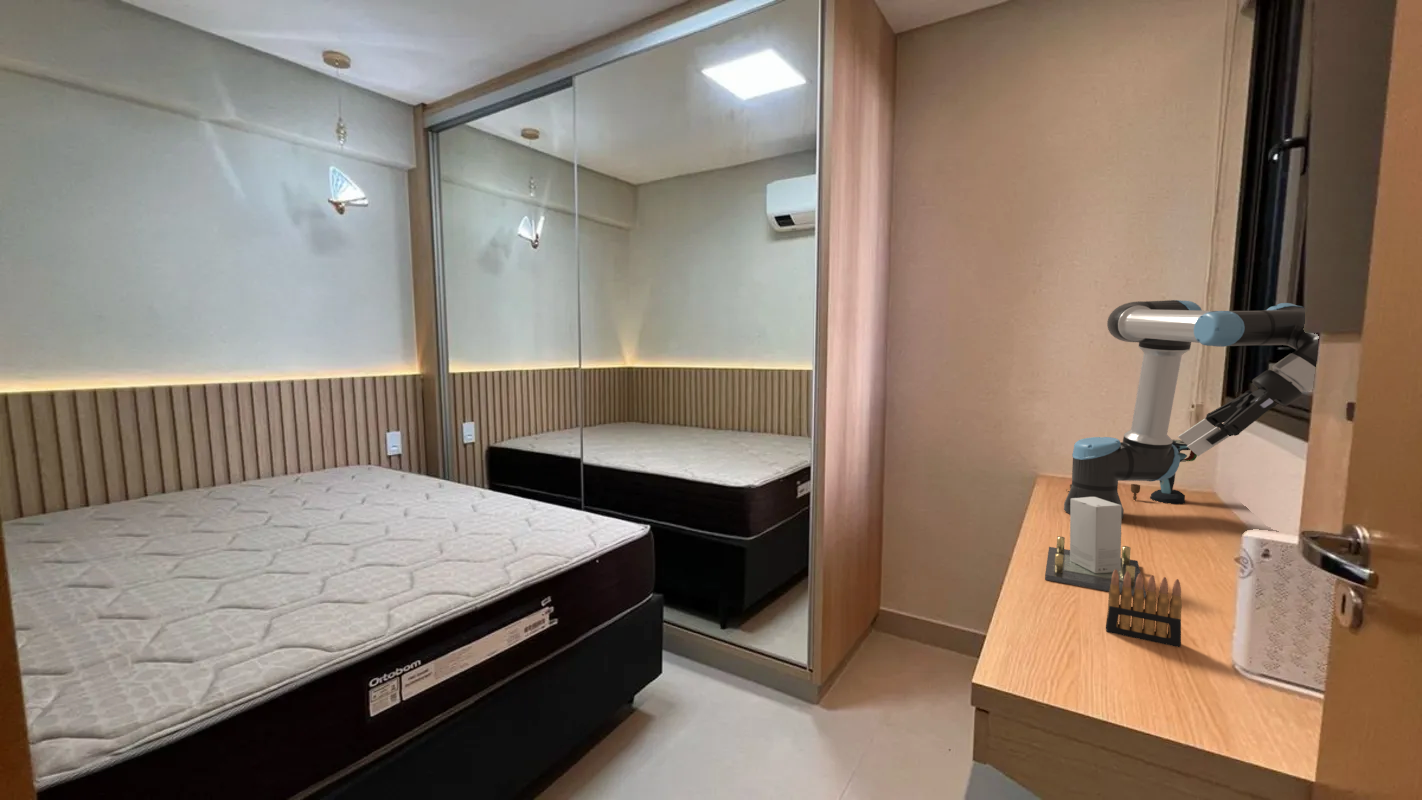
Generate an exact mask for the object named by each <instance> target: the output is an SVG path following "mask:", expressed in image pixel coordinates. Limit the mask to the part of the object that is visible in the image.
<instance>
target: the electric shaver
mask: <svg viewBox="0 0 1422 800" xmlns="http://www.w3.org/2000/svg"><path fill="white" fill-rule="evenodd" d="M1172 441H1173V442H1172V444H1173V445H1174V446H1175V447H1176V448H1177V449H1178V452H1179V453H1178V455H1179V456H1180V463H1186V462H1194V461H1195V460H1196V458H1197V457H1198V456H1197V455H1196V454H1195V453H1194V452H1193V451H1192V450H1190V449H1189V448H1188V447H1187V446H1188V445H1187V444H1185V443H1184V442H1183V441H1182V440H1181V439H1172ZM1181 451H1190V452H1189V456H1188V454H1185V453H1183V452H1181ZM1175 479H1176V473H1175V474H1174V475H1173V476H1172V477H1170V478H1168V479H1166V480H1158V481H1159V486H1160V489H1157V490H1154V491H1153V492H1152V493H1151V494H1150V496H1149V499H1150V500H1151V499H1152V500H1151V501H1154V500H1155V501H1154V502H1157V501H1158V503H1161V502H1163V504H1168V503H1171V504H1170V505H1184V504H1186V500H1185V499H1186V495H1185V494H1184V493H1183V492H1181V491H1180V490H1178V489H1174V484H1175ZM1183 503H1184V504H1183Z"/></svg>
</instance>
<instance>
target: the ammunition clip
mask: <svg viewBox="0 0 1422 800" xmlns="http://www.w3.org/2000/svg"><path fill="white" fill-rule="evenodd" d="M1155 580H1156V579H1155V577H1154V575H1150V577H1149V578H1148V582H1147V589H1146V597H1145V598H1144V589H1143V584H1144V578H1143V574H1142V573H1139V574H1138V576H1137V579H1136V583H1135V590H1134V594H1133V596H1132V593H1131V577H1130V573H1129V572H1128V571H1127V572H1126V574H1125V576H1124V580H1123V587H1122V592H1121V594H1120V591H1119V576H1118V572H1117V570H1116V569H1115V570H1114V572H1113V574H1112V578H1111V585H1110V590H1109V592H1108V599H1107V600H1108V603H1107V613H1106V621H1105V623H1106V624H1105V631H1106V632H1107V633H1109V634H1114V635H1118V636H1123V637H1128V638H1133V639H1138V640H1142V641H1148V642H1151V643H1156V644H1162V645H1166V646H1171V647H1174V648H1176V647H1177V648H1182V647H1181V646H1182V609H1183V608H1182V607H1183V606H1182V604H1183V603H1182V587H1181V582H1180V580H1179V579H1178V578H1177V579H1175V581H1174V583H1173V586H1172V592H1171V596H1170V597H1171V598H1170V600H1169V584H1168V579H1167V578H1166V577H1165V576H1164V577H1163V578H1162V579H1161V582H1160V586H1159V591H1158V597H1157V594H1156V593H1157V591H1156V589H1157V588H1156V587H1157V585H1156V584H1157V583H1156V581H1155Z"/></svg>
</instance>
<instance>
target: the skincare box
mask: <svg viewBox="0 0 1422 800" xmlns="http://www.w3.org/2000/svg"><path fill="white" fill-rule="evenodd" d="M1122 507H1123V505H1119V504H1116V503H1113V502H1109V501H1106V500H1103V499H1100V498H1097V497H1083V498H1071V499H1070V514H1069V515H1070V516H1069V517H1070V519H1069V521H1070V523H1069V524H1070V525H1069V532H1070V533H1069V536H1070V537H1069V538H1070V539H1069V550H1070V561H1071V562H1073V563H1076V564H1078V565H1080V566H1082V567H1084V568H1086V569H1088V570H1090V571H1092V572H1094V573H1113V572H1114V570H1115V569H1116V570H1117V572H1120V571H1121V557H1122V519H1121V512H1122Z"/></svg>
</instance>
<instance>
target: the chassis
mask: <svg viewBox="0 0 1422 800" xmlns="http://www.w3.org/2000/svg"><path fill="white" fill-rule="evenodd" d="M1065 541H1066V538H1065V537H1064V536H1062V535H1061V536H1060V535H1059V536H1056V547H1055V546H1054V547H1052V546H1049V547H1048V552H1047V553H1048V554H1047V559H1046V567H1045V572H1044V573H1045V574H1044V581H1045V580H1046V581H1050V582H1055V583H1061V584H1066V585H1072V586H1077V587H1082V588H1086V589H1087V588H1088V589H1091V590H1092V589H1093V590H1096V591H1097V590H1098V591H1103V592H1108V593H1109V590H1110V585H1111V578H1112V574H1113V573H1094V572H1092V571H1090V570H1088V569H1086V568H1084V567H1082V566H1080V565H1078V564H1076V563H1073V562H1071V561H1070V549H1066V548H1065V543H1066V542H1065ZM1127 571H1128V572H1129V573H1130V577H1131V593H1132V597H1133V594H1134V590H1135V583H1136V579H1137V576H1138V574H1139V573H1141V569H1140V566H1139V561H1138V560H1135V559H1131V547H1130V546H1128V545H1121V571H1120V572H1118V576H1119V591H1120V595H1121V592H1122V587H1123V580H1124V576H1125V574H1126V572H1127ZM1141 574H1142V573H1141ZM1145 588H1146V587H1145V585H1144V583H1143V589H1144V599H1145V597H1146V593H1147V591H1146V589H1145Z"/></svg>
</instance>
